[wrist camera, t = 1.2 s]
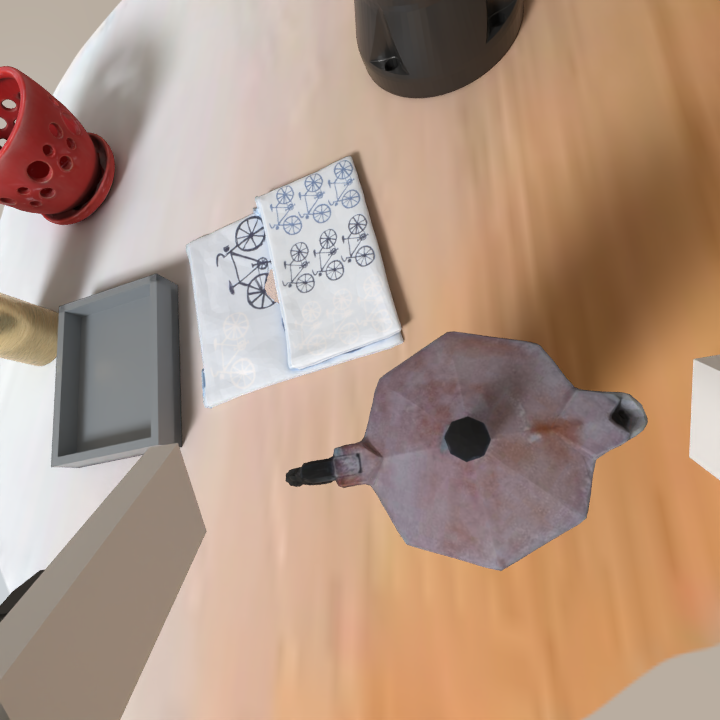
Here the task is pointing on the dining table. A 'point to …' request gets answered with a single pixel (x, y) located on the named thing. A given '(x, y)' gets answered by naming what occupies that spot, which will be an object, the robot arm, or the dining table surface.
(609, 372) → the dining table surface
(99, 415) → the slate tray
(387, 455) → the moka pot
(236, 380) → the bicycle print cloth
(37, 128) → the plant pot
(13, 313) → the cylinder
